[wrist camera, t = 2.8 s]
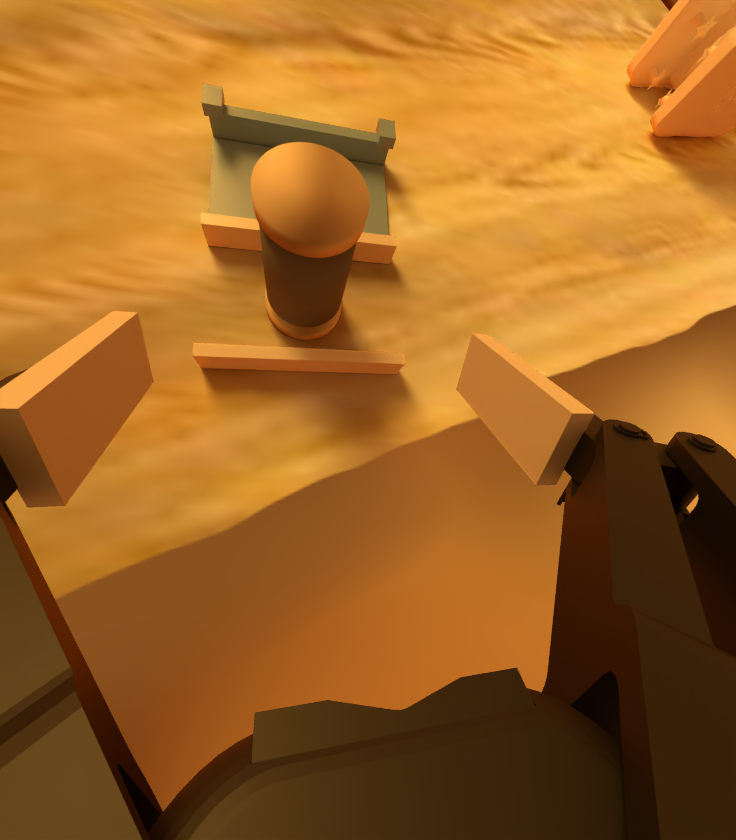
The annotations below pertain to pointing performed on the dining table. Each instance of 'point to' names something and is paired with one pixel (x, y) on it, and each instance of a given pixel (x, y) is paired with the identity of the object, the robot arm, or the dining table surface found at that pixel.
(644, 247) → the dining table surface
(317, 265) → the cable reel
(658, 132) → the cable organizer
